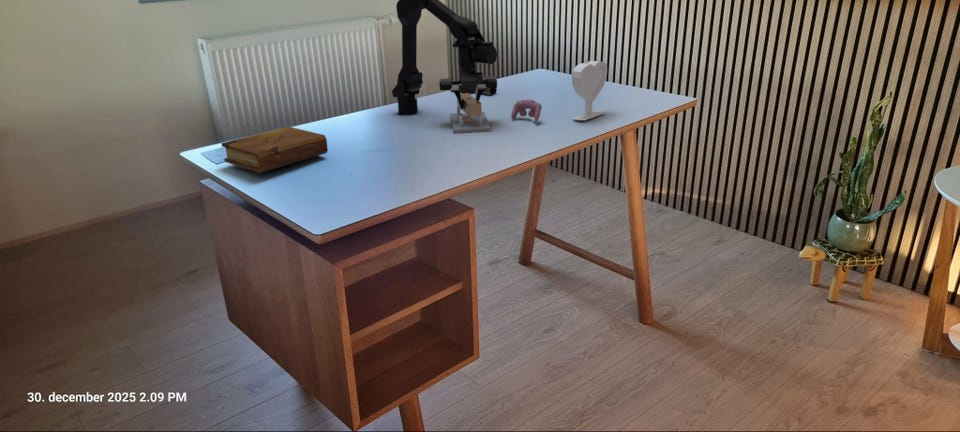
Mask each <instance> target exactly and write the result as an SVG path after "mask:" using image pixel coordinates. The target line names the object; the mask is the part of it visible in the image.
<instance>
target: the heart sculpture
mask: <svg viewBox="0 0 960 432" xmlns="http://www.w3.org/2000/svg"><path fill="white" fill-rule="evenodd" d="M571 72H572V74H571V83H572V87H573V90H574V93H576V94H577V96H579V97H580V98H581V99H583V100H584V101H585V104H584V105H585V107H584V113H582V114H580V115H577V116H574V117H573V118H572V119H574V120H576V121H587V120H589V119H594V118H595V117H598V116H601V115H604V114H605V113H604V112H601V111H598V110H597V111H595V110H594V111H593V103H594V101H595V100H596V98H597V97H598V96H599V94H601V91H602V89H603V88H604V86H605V83H606V81H607V75H608V65H607V63H606V62H604V61H599V60H598V61H596V60H588V61H587V62H586V63H585V62H583V63H582V62H581V63H578V64H577V65H576V66H575V67H573V69H572V71H571Z"/></svg>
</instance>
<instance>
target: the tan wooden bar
mask: <svg viewBox="0 0 960 432" xmlns="http://www.w3.org/2000/svg"><path fill="white" fill-rule="evenodd" d="M460 95H461V101H462V110H461V108H460V105H459V102H458V99H457V98H456V105H457V106H458V107H459V108H460V110H461V111H462V112H463V113H466V114H467V115H469V116H470V117H471V116H480V115H482V112H483V111H482V102H480V100H479V101H478V100H477V99H476V97H474V96H473V95H471V93H470V94H469V93H460ZM457 106H456V107H457Z"/></svg>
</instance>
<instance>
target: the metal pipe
mask: <svg viewBox="0 0 960 432" xmlns="http://www.w3.org/2000/svg"><path fill="white" fill-rule="evenodd" d="M486 89H487V90H486V91H483V93H482V95H489V96H495V95H496V94H497V90H498V89H497V88H487V87H486ZM459 90H460V94H464V93H469V94H470V95H471V94H474V93H475V94H476V89H472V88H469V89H463V88H462V86H459Z"/></svg>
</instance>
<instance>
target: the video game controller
mask: <svg viewBox="0 0 960 432" xmlns="http://www.w3.org/2000/svg"><path fill="white" fill-rule="evenodd" d="M526 109H527V110H528V109H529V111H528V112H527V110H526ZM542 109H543V108H542V105H541V103H539V102H538V101H535V100H533V99H521V100H517V102H515V103H514V105H513V108H512V112H511V115H510V116H511V119H512V120H515V119H516V117H518V113H519V115H520V117H526V116H527V115H528V117H529V118H534V121H535V122H537V121H538V120H539V119H540V117H541V113H542Z"/></svg>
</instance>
